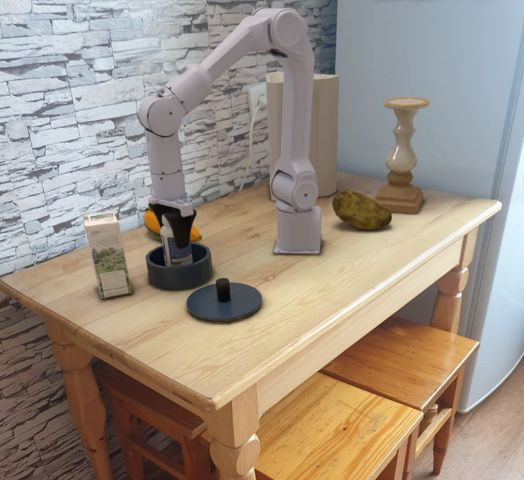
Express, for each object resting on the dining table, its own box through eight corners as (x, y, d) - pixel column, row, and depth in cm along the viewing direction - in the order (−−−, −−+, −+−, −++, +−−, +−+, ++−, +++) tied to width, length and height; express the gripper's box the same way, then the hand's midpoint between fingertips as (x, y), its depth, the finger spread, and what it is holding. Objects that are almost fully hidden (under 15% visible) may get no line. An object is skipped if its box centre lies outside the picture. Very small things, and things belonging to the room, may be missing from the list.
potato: (380, 237, 122) (383, 201, 118) (327, 228, 128) (327, 193, 124) (394, 225, 128) (397, 190, 124) (342, 216, 134) (343, 183, 130)
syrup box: (127, 281, 110) (113, 209, 102) (132, 294, 105) (118, 219, 97) (98, 287, 108) (81, 214, 100) (101, 300, 103) (84, 225, 96)
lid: (266, 288, 105) (265, 265, 102) (256, 325, 94) (254, 300, 91) (196, 286, 107) (194, 263, 104) (178, 322, 96) (174, 298, 93)
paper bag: (246, 195, 151) (239, 80, 135) (279, 180, 160) (276, 71, 145) (306, 207, 141) (306, 84, 125) (337, 190, 150) (340, 75, 135)
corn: (159, 193, 130) (211, 212, 118) (165, 223, 135) (216, 246, 122) (131, 203, 127) (182, 224, 114) (139, 234, 131) (189, 258, 118)
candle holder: (370, 210, 137) (376, 104, 124) (380, 196, 145) (387, 95, 132) (415, 214, 133) (427, 106, 120) (423, 199, 141) (435, 96, 128)
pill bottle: (198, 261, 110) (193, 212, 105) (181, 271, 106) (174, 222, 101) (177, 256, 112) (170, 208, 107) (159, 266, 109) (151, 217, 103)
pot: (218, 263, 115) (216, 242, 112) (204, 291, 105) (202, 268, 102) (159, 262, 117) (156, 241, 114) (140, 289, 107) (136, 267, 104)
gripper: (130, 165, 103) (142, 235, 110) (162, 184, 93) (172, 260, 100) (165, 158, 106) (175, 227, 113) (200, 176, 96) (208, 250, 103)
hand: (176, 242), depth 107 cm, fingers closed on pill bottle, 5 cm apart
